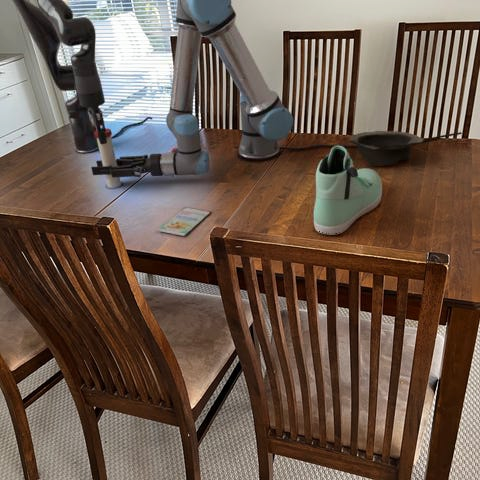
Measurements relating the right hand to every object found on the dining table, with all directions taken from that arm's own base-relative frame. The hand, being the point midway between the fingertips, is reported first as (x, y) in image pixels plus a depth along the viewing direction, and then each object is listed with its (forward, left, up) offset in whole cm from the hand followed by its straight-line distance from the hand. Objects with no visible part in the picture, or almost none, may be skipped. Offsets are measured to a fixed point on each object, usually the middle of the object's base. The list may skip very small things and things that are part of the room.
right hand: (95, 167), depth 162 cm
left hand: (-4, +2, +10) cm, 11 cm away
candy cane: (-29, -12, -7) cm, 32 cm away
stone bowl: (-95, +29, -7) cm, 100 cm away
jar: (-5, +2, -7) cm, 9 cm away
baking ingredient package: (-19, +40, -7) cm, 45 cm away
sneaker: (-64, +56, -7) cm, 85 cm away
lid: (-5, +2, +12) cm, 13 cm away
